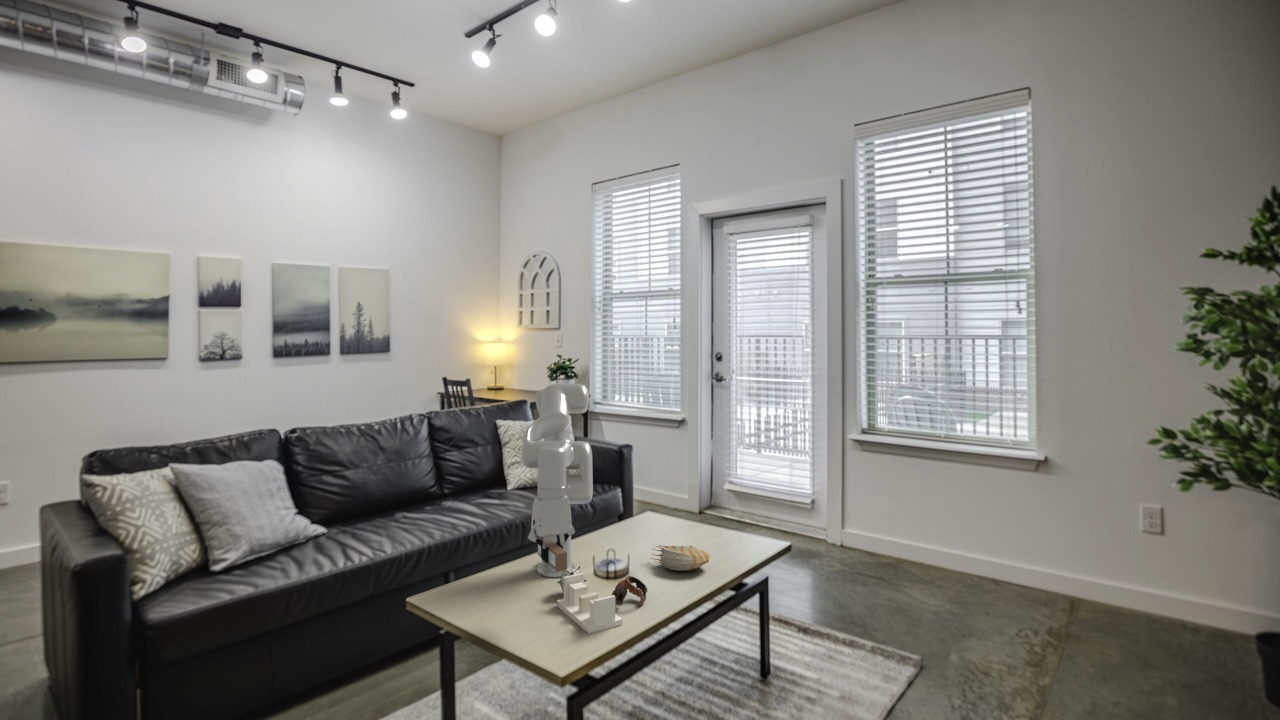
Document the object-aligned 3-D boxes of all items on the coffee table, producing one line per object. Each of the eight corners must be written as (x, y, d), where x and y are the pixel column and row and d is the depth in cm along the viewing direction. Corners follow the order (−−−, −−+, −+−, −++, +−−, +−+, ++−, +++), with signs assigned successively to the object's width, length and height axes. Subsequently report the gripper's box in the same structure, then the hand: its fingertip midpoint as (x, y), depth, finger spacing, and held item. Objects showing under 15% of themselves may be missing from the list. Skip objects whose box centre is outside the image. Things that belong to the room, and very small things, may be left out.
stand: (556, 605, 179) (556, 578, 178) (588, 598, 184) (588, 571, 184) (588, 633, 162) (588, 603, 161) (622, 624, 167) (622, 595, 167)
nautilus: (638, 567, 210) (666, 558, 222) (690, 579, 196) (717, 569, 208) (638, 543, 211) (666, 535, 222) (689, 554, 197) (716, 544, 208)
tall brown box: (537, 554, 173) (537, 538, 173) (547, 552, 175) (547, 536, 175) (556, 571, 161) (556, 554, 161) (567, 569, 163) (567, 552, 162)
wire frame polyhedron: (564, 607, 187) (546, 577, 188) (586, 590, 192) (568, 561, 193) (574, 602, 179) (555, 572, 181) (597, 584, 184) (578, 555, 186)
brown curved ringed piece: (619, 595, 188) (633, 572, 187) (641, 616, 183) (656, 592, 182) (597, 598, 178) (612, 574, 177) (620, 621, 172) (635, 596, 172)
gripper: (574, 485, 175) (574, 550, 175) (517, 493, 166) (518, 561, 167) (585, 491, 168) (585, 559, 169) (527, 499, 160) (527, 570, 161)
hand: (551, 559), depth 168 cm, fingers closed on tall brown box, 3 cm apart
